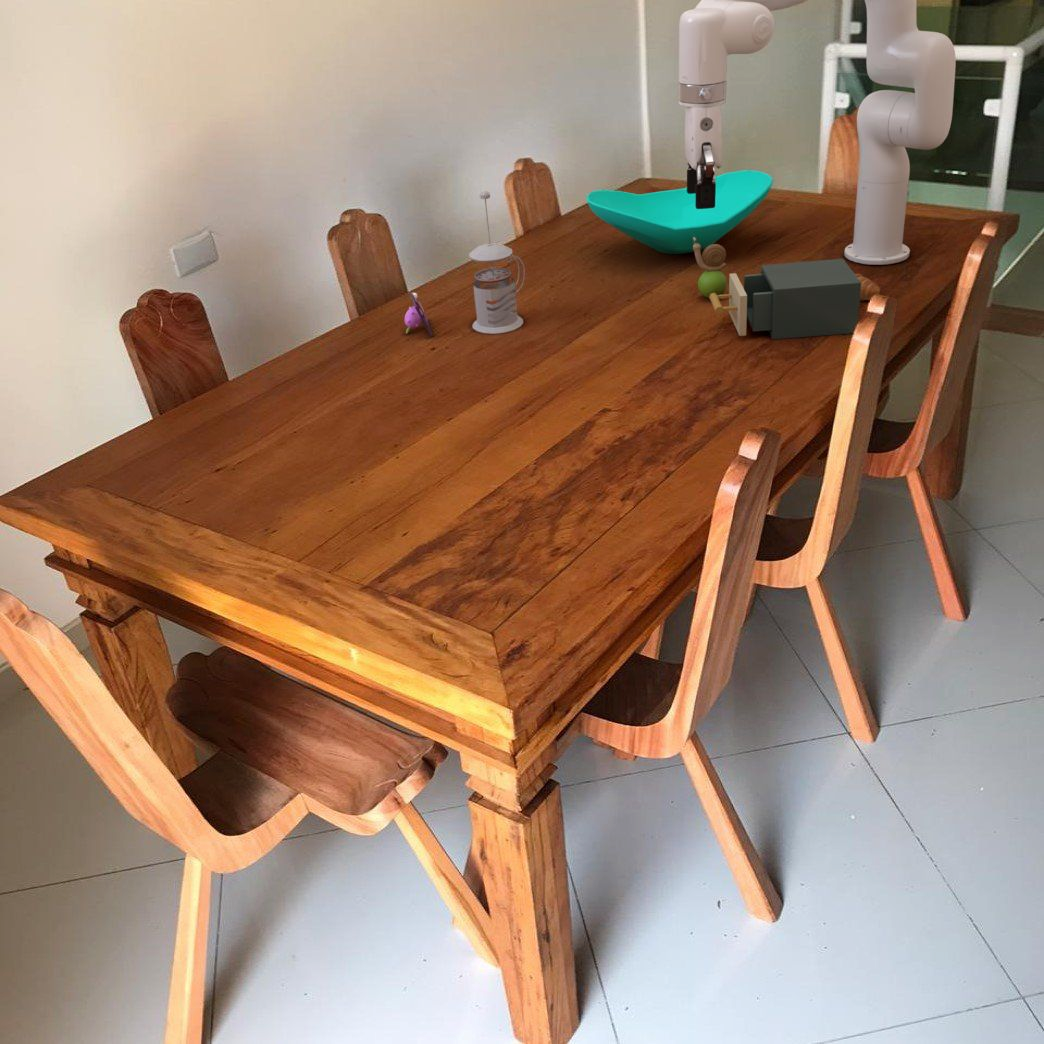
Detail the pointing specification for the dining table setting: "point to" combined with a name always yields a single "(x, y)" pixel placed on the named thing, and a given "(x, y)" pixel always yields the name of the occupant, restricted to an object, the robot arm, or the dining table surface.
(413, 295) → the purple plush toy
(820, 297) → the cabinet
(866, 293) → the pastry
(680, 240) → the table top decor
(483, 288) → the french press
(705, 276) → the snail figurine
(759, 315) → the drawer
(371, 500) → the dining table surface
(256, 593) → the dining table surface
